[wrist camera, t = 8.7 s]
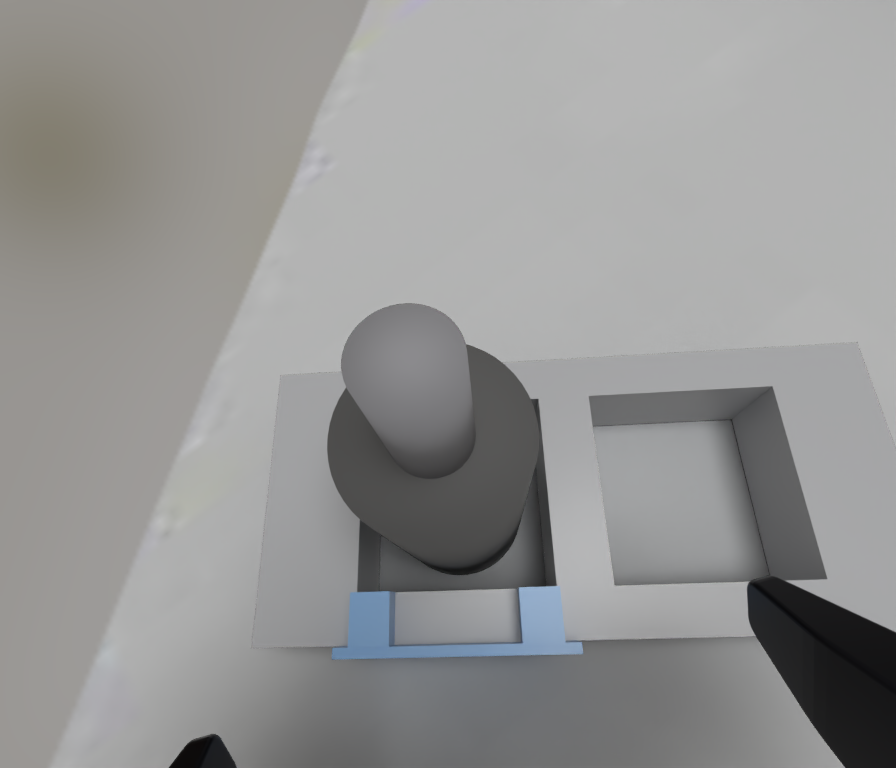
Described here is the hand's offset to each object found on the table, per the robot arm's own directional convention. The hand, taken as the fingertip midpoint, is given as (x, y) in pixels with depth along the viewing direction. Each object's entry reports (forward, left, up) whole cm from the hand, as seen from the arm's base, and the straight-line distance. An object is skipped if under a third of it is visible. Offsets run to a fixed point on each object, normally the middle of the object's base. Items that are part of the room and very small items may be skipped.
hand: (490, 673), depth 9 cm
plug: (+1, +5, -12) cm, 12 cm away
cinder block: (+5, +3, -11) cm, 13 cm away
